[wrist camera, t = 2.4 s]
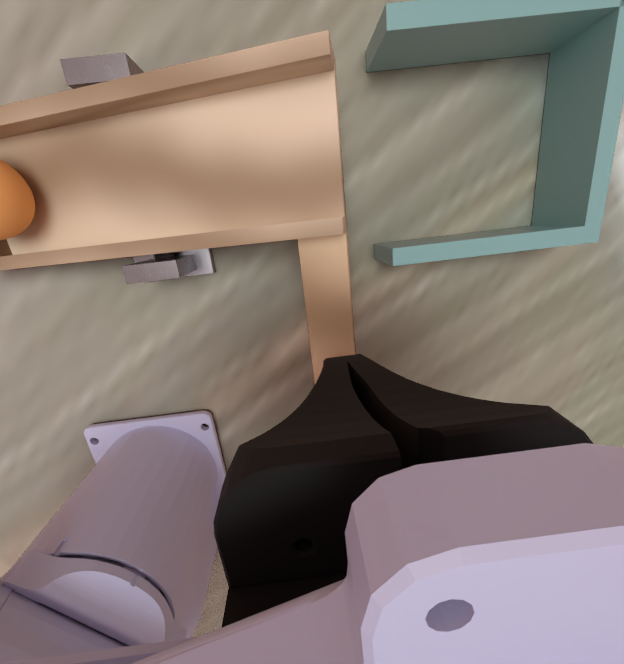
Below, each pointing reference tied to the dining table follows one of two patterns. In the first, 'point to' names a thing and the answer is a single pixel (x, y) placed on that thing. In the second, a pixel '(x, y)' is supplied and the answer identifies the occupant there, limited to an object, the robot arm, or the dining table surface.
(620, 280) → the dining table surface
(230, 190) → the lever
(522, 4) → the teal u-shaped frame
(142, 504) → the robot arm
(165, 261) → the fulcrum
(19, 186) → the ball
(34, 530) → the dining table surface
